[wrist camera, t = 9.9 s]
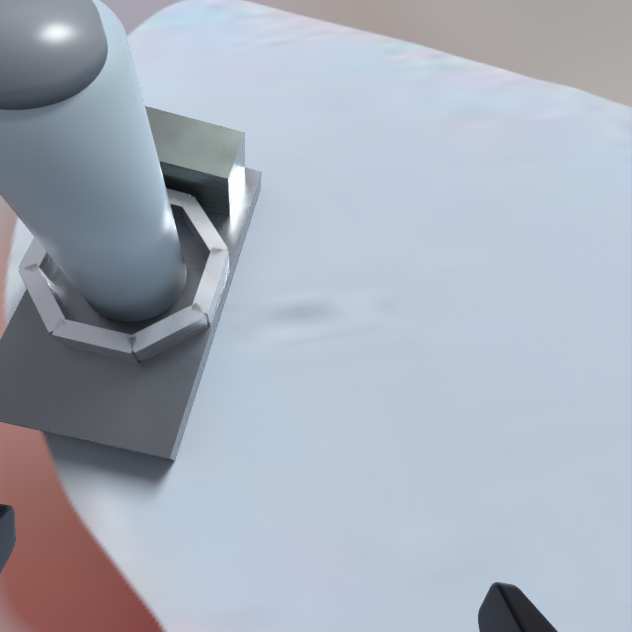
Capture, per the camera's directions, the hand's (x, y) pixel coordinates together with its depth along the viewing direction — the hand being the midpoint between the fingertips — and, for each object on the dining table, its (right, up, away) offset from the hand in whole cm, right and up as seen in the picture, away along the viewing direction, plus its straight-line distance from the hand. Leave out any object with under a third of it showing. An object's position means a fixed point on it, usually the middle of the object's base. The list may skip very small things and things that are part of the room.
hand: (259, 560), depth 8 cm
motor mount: (-8, +6, +15) cm, 19 cm away
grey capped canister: (-8, +7, +14) cm, 17 cm away
